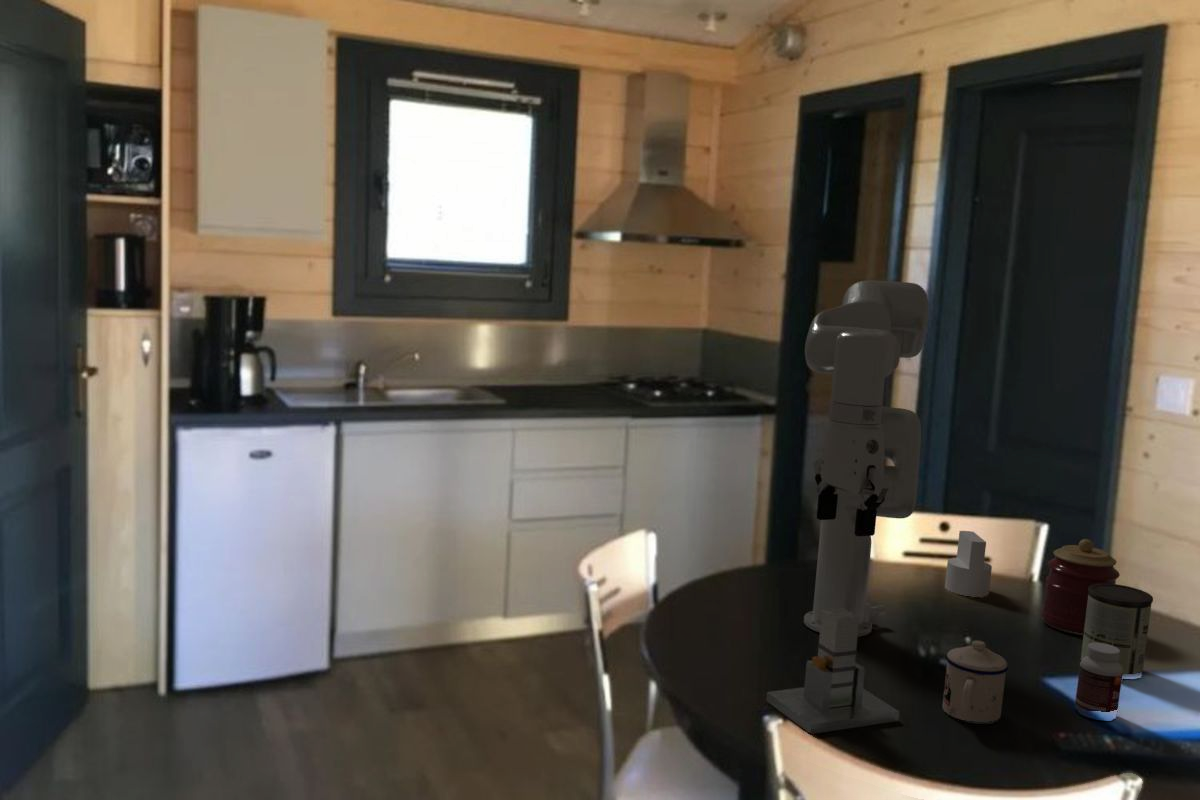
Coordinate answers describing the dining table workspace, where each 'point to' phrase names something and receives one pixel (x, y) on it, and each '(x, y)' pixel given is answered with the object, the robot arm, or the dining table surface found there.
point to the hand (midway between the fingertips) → (844, 527)
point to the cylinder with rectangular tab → (969, 567)
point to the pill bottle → (1099, 679)
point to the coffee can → (1118, 622)
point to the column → (839, 652)
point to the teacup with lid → (974, 683)
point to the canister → (1074, 583)
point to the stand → (814, 700)
